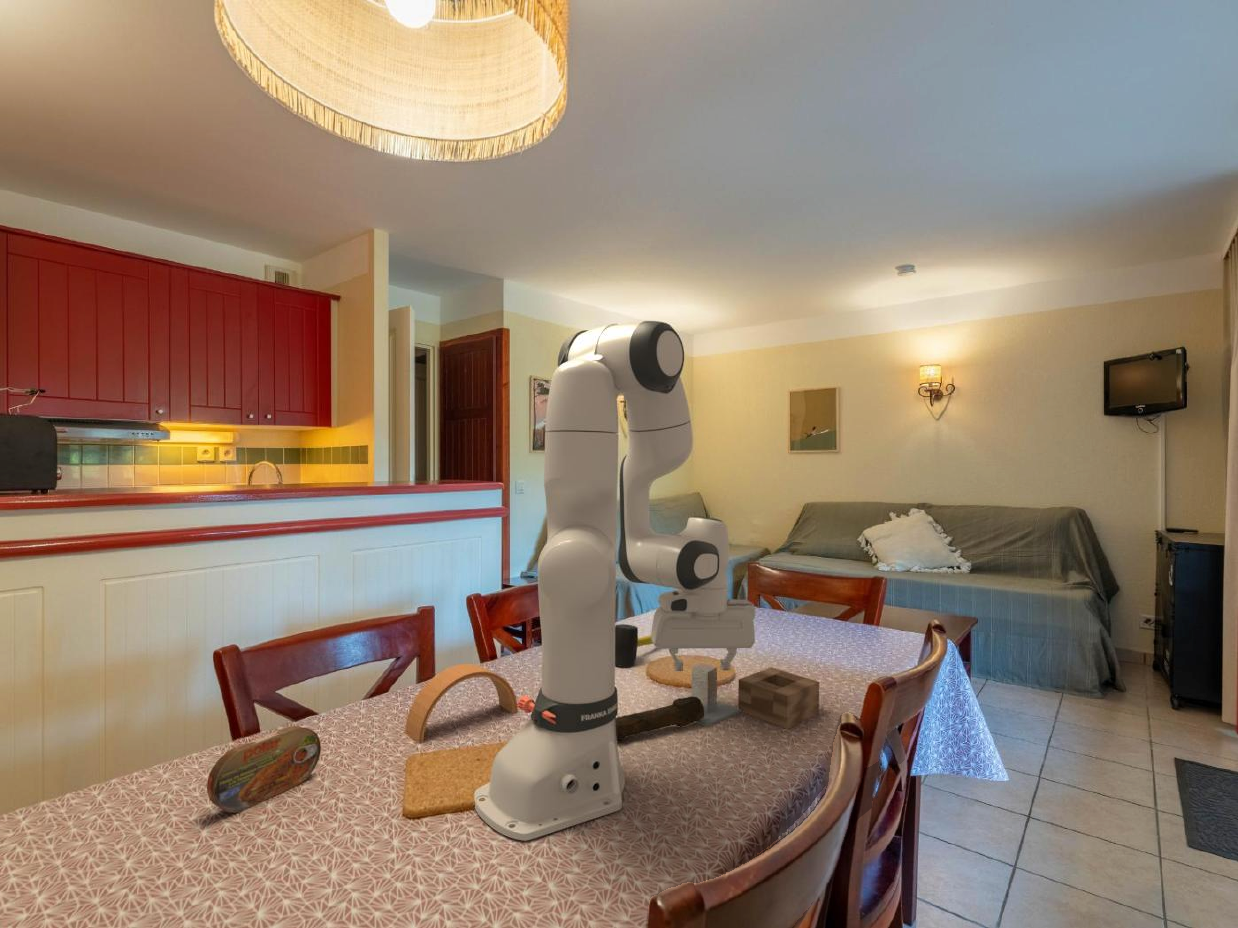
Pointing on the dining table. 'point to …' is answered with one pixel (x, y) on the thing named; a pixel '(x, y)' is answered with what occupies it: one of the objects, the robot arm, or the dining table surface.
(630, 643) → the mallet
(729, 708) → the pad
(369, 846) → the dining table surface
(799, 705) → the block with square hole
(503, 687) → the arch
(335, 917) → the dining table surface
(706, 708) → the gray rectangular block
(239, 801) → the tin
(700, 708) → the hand tool
